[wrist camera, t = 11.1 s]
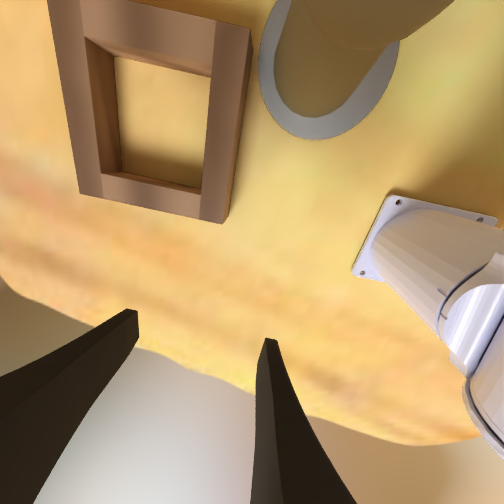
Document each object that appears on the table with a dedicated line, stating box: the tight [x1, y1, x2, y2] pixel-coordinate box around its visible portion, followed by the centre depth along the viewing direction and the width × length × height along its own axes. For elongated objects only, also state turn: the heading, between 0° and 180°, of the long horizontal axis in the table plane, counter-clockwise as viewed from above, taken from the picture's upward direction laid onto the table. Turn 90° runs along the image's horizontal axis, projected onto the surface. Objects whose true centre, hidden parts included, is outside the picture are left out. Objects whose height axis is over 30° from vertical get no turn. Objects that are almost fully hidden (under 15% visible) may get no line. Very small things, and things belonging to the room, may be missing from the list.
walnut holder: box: [47, 0, 253, 224], centre depth 15 cm, size 12×12×2 cm
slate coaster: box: [258, 0, 399, 140], centre depth 14 cm, size 9×9×1 cm
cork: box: [273, 0, 454, 118], centre depth 8 cm, size 6×6×11 cm
